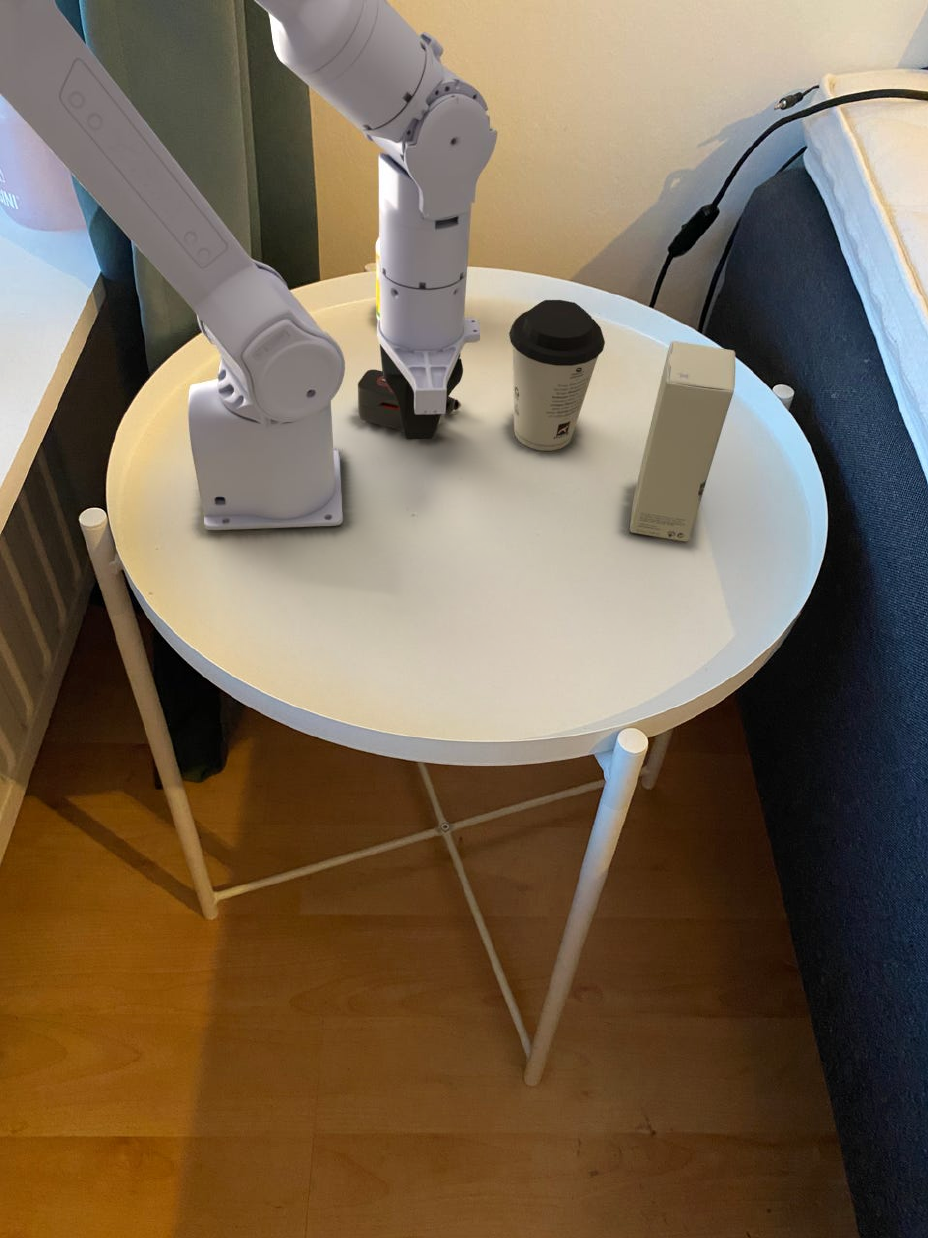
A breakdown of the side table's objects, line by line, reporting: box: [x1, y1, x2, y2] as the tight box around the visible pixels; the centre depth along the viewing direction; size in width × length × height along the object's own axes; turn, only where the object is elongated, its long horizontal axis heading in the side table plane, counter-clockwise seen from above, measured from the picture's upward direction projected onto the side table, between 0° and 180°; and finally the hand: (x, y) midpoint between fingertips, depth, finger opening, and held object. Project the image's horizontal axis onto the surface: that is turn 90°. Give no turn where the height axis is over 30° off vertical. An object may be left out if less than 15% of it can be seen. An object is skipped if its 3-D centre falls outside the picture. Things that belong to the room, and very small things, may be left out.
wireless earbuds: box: [357, 369, 462, 431], centre depth 76 cm, size 5×7×3 cm, turn 72°
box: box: [629, 340, 736, 542], centre depth 66 cm, size 5×4×13 cm
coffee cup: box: [508, 299, 606, 452], centre depth 73 cm, size 7×7×10 cm
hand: (418, 434), depth 73 cm, fingers closed
